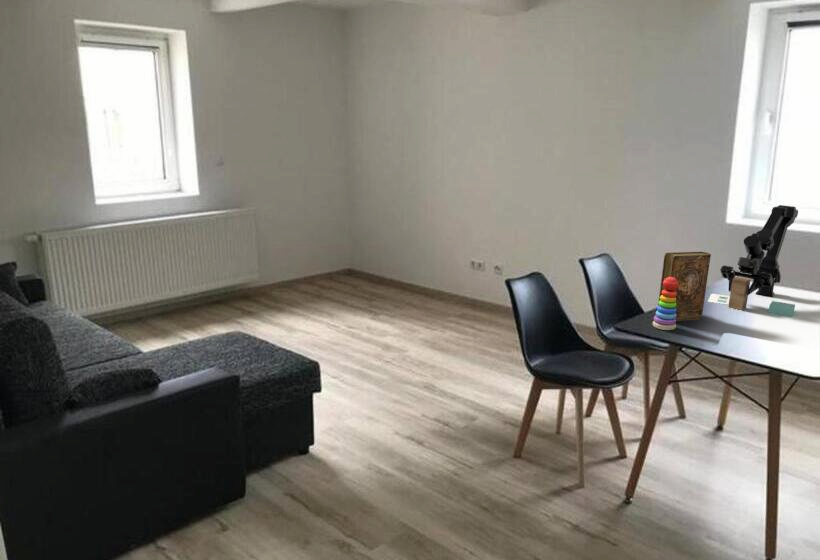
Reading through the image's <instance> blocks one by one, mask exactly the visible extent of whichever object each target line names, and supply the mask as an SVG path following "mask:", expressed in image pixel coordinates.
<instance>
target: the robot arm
mask: <svg viewBox="0 0 820 560" xmlns="http://www.w3.org/2000/svg"><path fill="white" fill-rule="evenodd" d="M796 207H797V206H791V205H784V204H783V205H781V204H779V205H777V206H773V207H772V208H771V213H770V215H769V217H768V218H767V220H766V222H765V224H764V225H763V228H762V229H761V230H759V231H757V232H756V233H752V234H751V235H748V236H746V237H745V238H744V239H743V245H744V248H745V253H747V255H746V257H741V256H740V257H738V258H739V259H738V261H737V266H738V270H739V271H738V270H735V269H734V267H733V266H730V265H726V264H725V265H722V266H721V267H720V269H719V270H720V273H721V277H722V278H723V279H727V281H728V292H729V293H730V292H731V286H732V279H734V278H736V277H742V278H747V279H751V280H752V283H750V286H749V290H748V292H747V295H748V296H749V295H751V294H752V293H754V292H755V291H756V290H757V291H756V292H755V295H759V296H764V297H765V296H766V297H774V295H775V292H774V288H775V284H777V283H778V284H779V283H780V282H781V280H782V279H781V278H782V275H781V271H780V264H779V260H778V258H779V256H780V252H781V249H782V246H783V243H784V240H785V237H786V234H787V231H788V228H789V227H790V226H791V225H793V224H794V222H795V220H796V219H797V217H798V215H799V210H798V209H797V208H796ZM765 251H766V254H765Z"/></svg>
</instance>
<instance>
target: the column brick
mask: <svg viewBox="0 0 820 560" xmlns="http://www.w3.org/2000/svg"><path fill="white" fill-rule="evenodd" d="M751 280H752V279H749V278H744V277H739V276H735V278H734V279H732V286H731V291H730V292H729V296H730V299H729V305H727V308H728V307H729V308H728V309H731V308H733V310H736V309H737V310H736V311H740V310H742V311H743V310H745V309H746V308H747V303H748V299H749V295H747V292H748V290H749V288H750V286H751Z"/></svg>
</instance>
